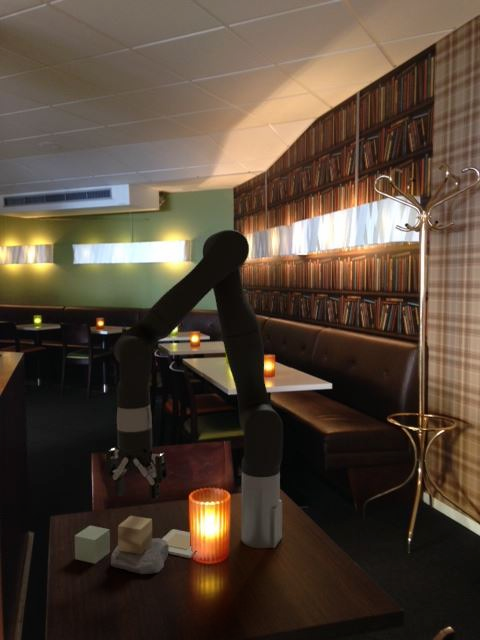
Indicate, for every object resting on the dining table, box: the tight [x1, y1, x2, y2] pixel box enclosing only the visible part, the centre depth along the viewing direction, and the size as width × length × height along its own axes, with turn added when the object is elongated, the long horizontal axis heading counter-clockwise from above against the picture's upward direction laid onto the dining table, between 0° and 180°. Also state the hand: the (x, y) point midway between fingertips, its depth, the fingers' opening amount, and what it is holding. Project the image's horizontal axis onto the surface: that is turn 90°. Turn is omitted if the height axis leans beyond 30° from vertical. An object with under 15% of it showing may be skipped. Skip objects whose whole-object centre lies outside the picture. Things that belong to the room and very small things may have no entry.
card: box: [161, 528, 195, 559], centre depth 126 cm, size 10×10×1 cm
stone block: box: [110, 537, 169, 575], centre depth 118 cm, size 12×5×10 cm
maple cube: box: [117, 515, 153, 554], centre depth 118 cm, size 6×6×6 cm
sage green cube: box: [74, 525, 111, 564], centre depth 121 cm, size 6×6×6 cm
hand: (136, 497), depth 117 cm, fingers open, 8 cm apart
